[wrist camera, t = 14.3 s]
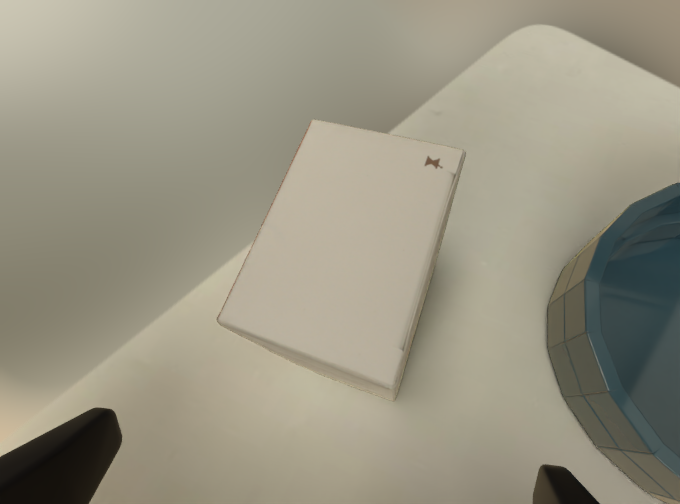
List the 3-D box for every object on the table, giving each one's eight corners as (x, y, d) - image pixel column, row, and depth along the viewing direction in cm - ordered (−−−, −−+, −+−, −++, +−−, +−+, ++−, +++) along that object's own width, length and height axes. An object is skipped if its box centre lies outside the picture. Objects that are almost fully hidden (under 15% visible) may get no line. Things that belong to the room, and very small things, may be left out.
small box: (345, 237, 23) (311, 110, 14) (437, 263, 22) (470, 142, 12) (294, 366, 20) (206, 321, 11) (395, 405, 19) (395, 392, 10)
